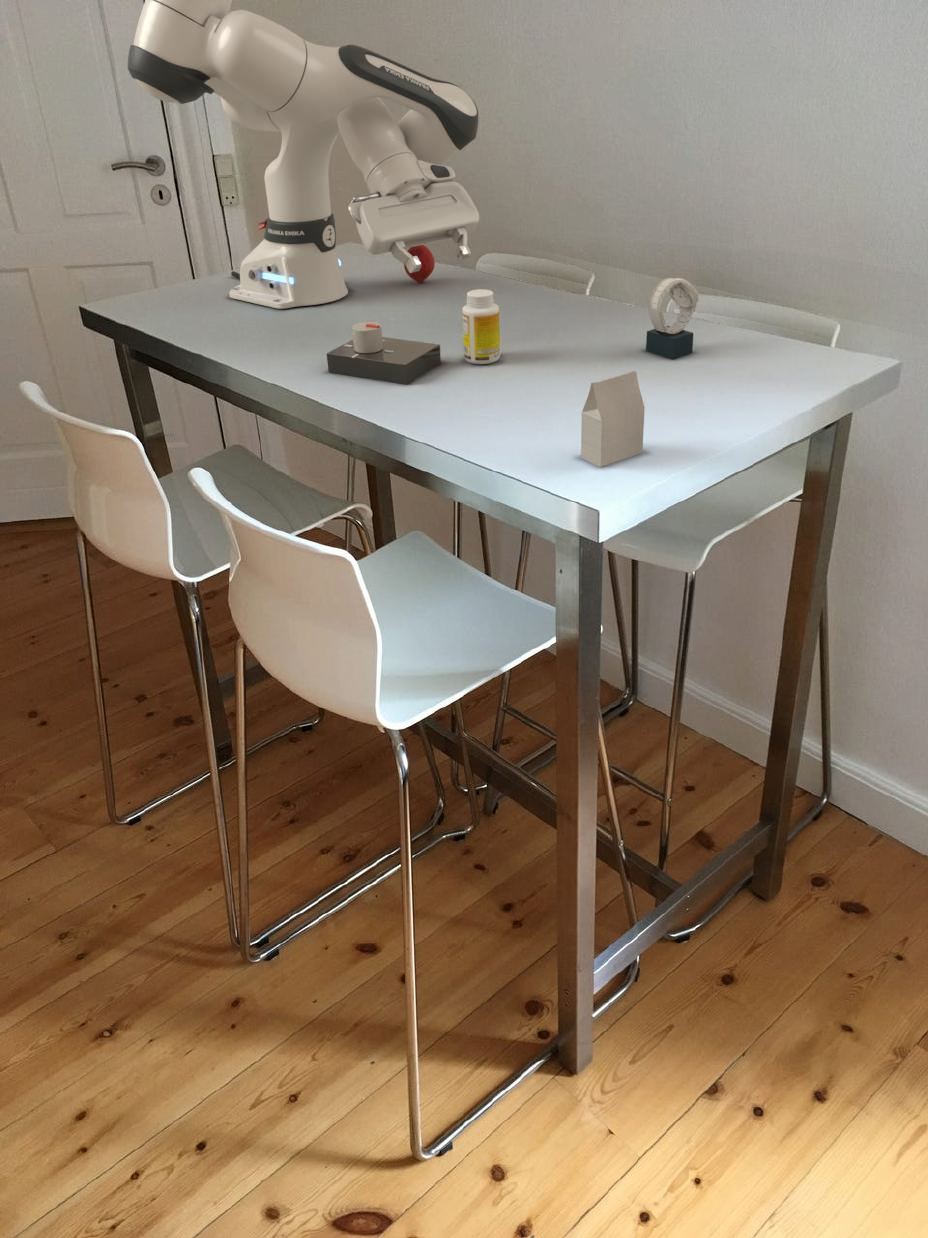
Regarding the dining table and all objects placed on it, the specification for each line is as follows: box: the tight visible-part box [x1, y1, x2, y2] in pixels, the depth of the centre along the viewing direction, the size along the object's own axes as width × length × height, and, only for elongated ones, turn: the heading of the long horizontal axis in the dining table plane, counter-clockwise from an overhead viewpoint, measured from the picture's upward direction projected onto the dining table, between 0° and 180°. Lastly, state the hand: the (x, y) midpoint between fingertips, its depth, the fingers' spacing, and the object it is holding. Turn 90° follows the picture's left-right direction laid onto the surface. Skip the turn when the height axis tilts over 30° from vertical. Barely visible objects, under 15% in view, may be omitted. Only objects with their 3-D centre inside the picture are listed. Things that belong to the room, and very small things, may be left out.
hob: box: [326, 336, 442, 385], centre depth 164 cm, size 14×10×3 cm
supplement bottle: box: [461, 288, 501, 365], centre depth 164 cm, size 6×6×10 cm
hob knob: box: [351, 321, 383, 353], centre depth 163 cm, size 4×4×4 cm
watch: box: [645, 277, 700, 360], centre depth 163 cm, size 6×8×11 cm
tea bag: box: [580, 370, 646, 468], centre depth 131 cm, size 4×7×10 cm, turn 124°
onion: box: [403, 244, 436, 284], centre depth 204 cm, size 6×6×8 cm
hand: (441, 264), depth 166 cm, fingers open, 8 cm apart
